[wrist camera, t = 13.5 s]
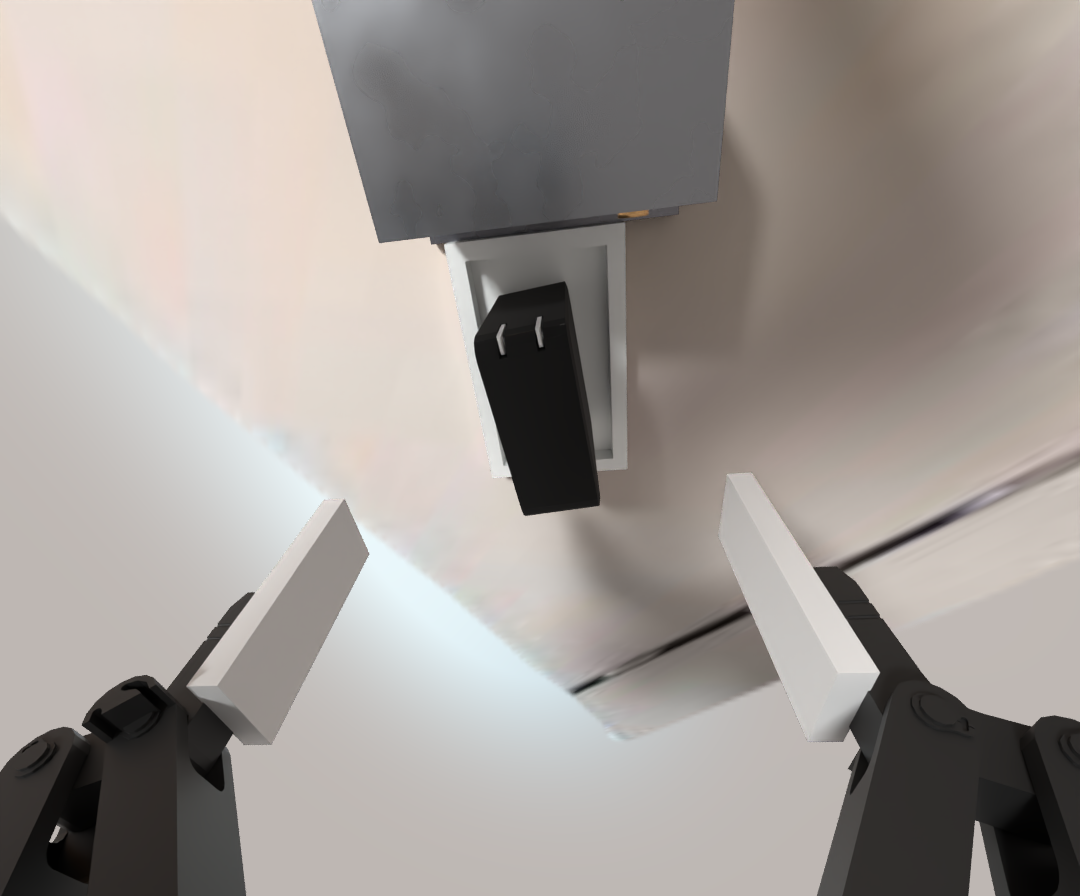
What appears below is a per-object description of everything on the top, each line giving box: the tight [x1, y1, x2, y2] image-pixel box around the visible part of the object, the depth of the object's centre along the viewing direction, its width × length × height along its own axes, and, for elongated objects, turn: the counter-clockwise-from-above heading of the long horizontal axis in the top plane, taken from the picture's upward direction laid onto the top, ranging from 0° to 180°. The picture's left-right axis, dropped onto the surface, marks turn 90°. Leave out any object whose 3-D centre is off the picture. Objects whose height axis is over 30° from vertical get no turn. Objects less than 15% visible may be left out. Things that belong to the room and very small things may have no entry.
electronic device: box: [474, 281, 600, 516], centre depth 24 cm, size 4×10×10 cm, turn 12°
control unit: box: [312, 0, 734, 245], centre depth 18 cm, size 10×14×11 cm
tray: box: [444, 221, 628, 478], centre depth 28 cm, size 16×10×2 cm, turn 7°
